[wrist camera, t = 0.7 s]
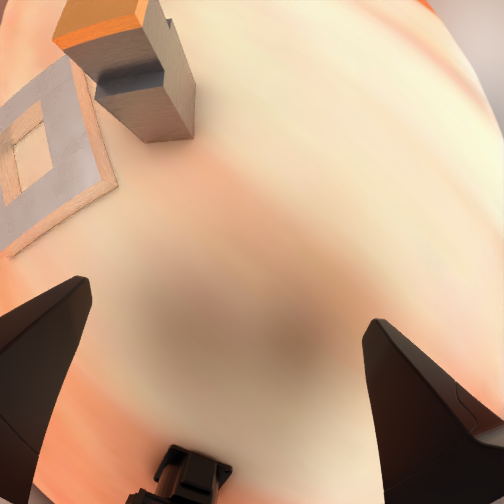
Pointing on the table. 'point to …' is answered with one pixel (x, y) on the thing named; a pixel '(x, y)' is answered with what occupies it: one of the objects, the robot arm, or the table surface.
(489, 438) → the robot arm
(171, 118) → the grey orange-tipped tall block
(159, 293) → the table surface
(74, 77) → the silver square socket base
